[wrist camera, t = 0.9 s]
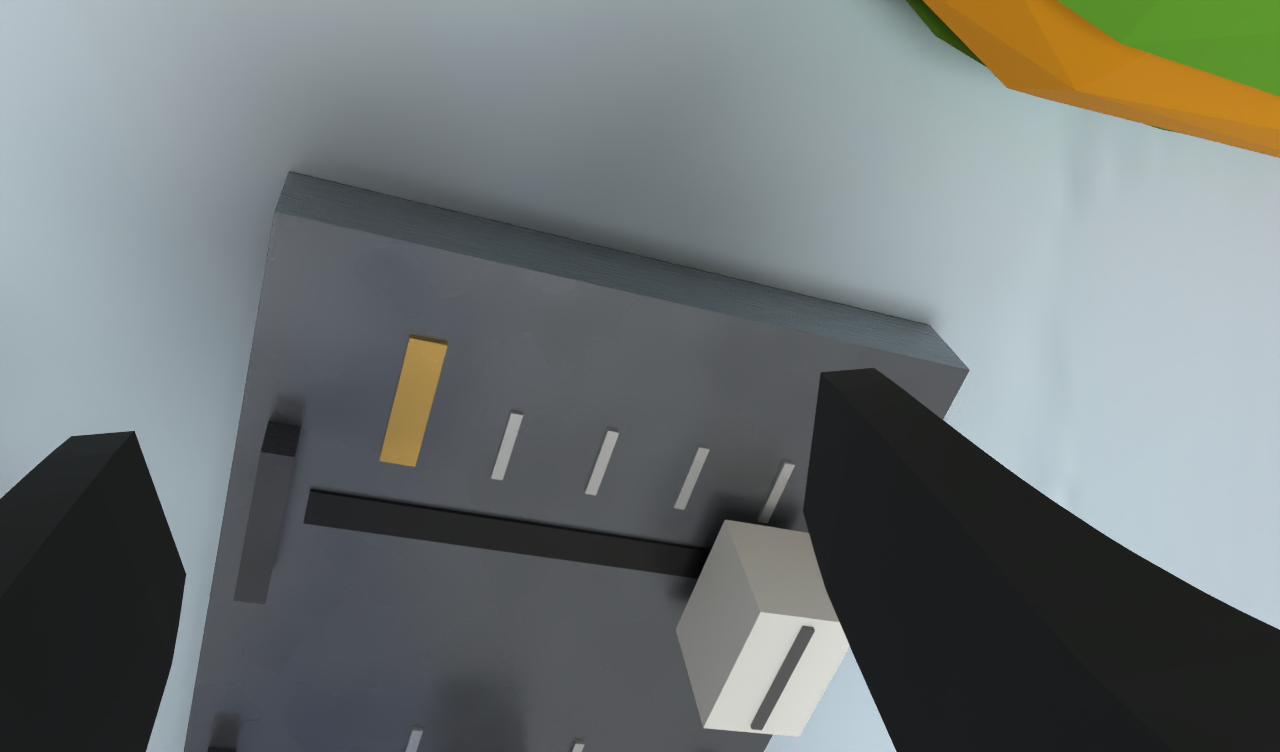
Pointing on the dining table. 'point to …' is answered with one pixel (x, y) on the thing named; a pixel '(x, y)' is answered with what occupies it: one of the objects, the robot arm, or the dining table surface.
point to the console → (501, 480)
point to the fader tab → (760, 632)
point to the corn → (1133, 59)
